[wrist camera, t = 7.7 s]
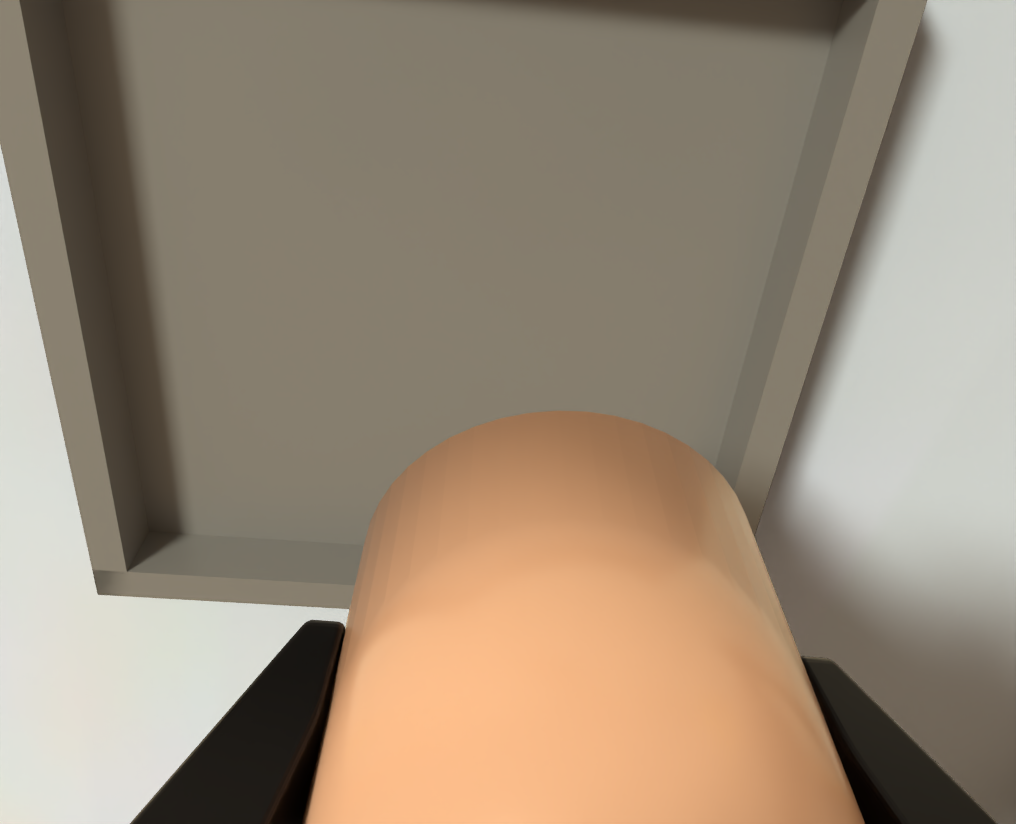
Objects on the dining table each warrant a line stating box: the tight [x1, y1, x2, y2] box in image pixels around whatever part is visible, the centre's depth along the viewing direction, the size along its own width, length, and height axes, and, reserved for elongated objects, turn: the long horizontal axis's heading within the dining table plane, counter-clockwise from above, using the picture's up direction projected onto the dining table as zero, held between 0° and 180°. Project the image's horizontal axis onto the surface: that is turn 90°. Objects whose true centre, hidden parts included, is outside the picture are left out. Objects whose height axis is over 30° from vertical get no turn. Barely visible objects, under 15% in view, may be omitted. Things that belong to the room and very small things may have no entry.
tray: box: [0, 0, 927, 609], centre depth 18 cm, size 16×16×2 cm
